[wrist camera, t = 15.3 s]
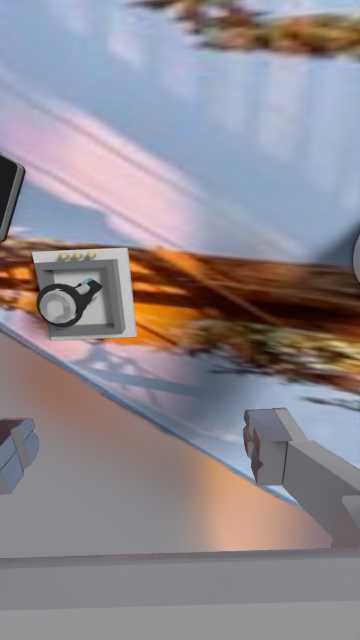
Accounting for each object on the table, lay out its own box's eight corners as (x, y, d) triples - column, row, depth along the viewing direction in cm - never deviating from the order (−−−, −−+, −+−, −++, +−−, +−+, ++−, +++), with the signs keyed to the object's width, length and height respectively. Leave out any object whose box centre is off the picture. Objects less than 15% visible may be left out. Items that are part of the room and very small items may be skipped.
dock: (127, 247, 35) (122, 247, 32) (136, 335, 39) (132, 342, 36) (35, 252, 35) (20, 252, 32) (53, 338, 39) (42, 346, 36)
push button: (89, 322, 37) (58, 347, 28) (60, 302, 36) (17, 321, 27) (112, 289, 36) (87, 304, 26) (82, 268, 35) (45, 275, 25)
